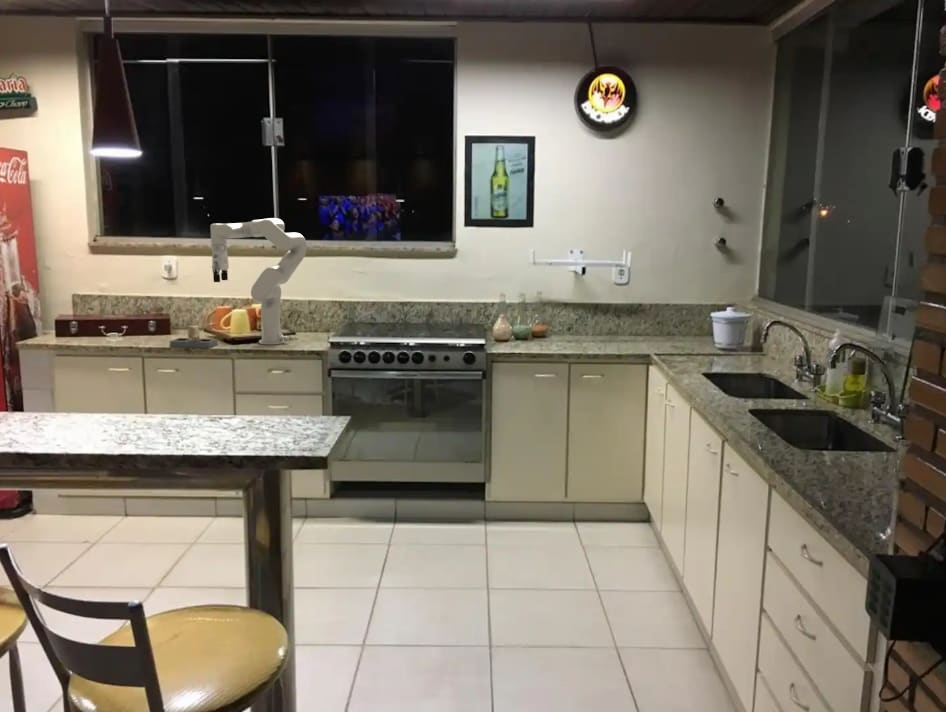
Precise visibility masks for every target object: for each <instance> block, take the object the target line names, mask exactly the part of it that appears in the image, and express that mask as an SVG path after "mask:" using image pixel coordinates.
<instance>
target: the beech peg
mask: <svg viewBox="0 0 946 712" xmlns="http://www.w3.org/2000/svg"><path fill="white" fill-rule="evenodd" d="M187 338H188V341H198V340H200V338H201V337H200V326H199V325H193V324H192V325H189V326H187Z"/></svg>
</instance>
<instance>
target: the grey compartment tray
mask: <svg viewBox="0 0 946 712" xmlns="http://www.w3.org/2000/svg"><path fill="white" fill-rule="evenodd" d="M199 338H200V340H198V341H188V337H177V338H175V339H172V340H170V341H169V348H179V349H180V348H181V349H183V348H185V349H211V348H214V347H217V346H218V345H219V341H218V338H201V337H199Z"/></svg>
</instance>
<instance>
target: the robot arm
mask: <svg viewBox="0 0 946 712" xmlns="http://www.w3.org/2000/svg"><path fill="white" fill-rule="evenodd" d="M250 237H254V238H260V237H261V238H262V237H265V238H266V240H268V241H269V242H270V243H271V244H272V245H273V246H275V247H276V248H277V249H279V250H281V251H287V252H286V253H285V254H284V255H283V256H282V258H281V260H280V261H279V262H278V263H277V264H276V265H273V266H268V267H266V268H265V269H264V270H263V271H262V272H261V273H260V275H259V276H258V278H257V279H256V281H255V282H254V283H253V284H252V287H251V289H250V295H251V297H252V300H254V301H255V302H258V303H261V305H260V323H261V339H259V340H258V344H261V345H265V346H266V345H267V346H271V345H281V344H284V343H285V341H289V340H290V339H289V338H290V336H288V335H284V334H283V332H281V331H282V330H281V328H282V327H281V326H282V325H281V297H282V288H281V286H280V285H284V284H286V283H288V281H289V280H290V278H291V277H292V275H293V274H294V272H295V271H296V270H297V268H298V267H299V265H300V264H301V262H302V261H303V260H304V258H305V257H306V255H307V250H308V244H307V240H306V238H305V237H304V236H303V235H302V234H301V233H299V232H294V231H293V232H285V223H284V221H283V220H282V219H280V218H277V217H270V218H269V217H268V218H263V219H253V220H251V221H247V222H236V223H235V222H234V223H232V222H231V223H230V222H228V223H212V224H210V243H211V244H210V247H211V251H212V255H211V256H212V261H211V262H212V265H211V269H212V275H213V276H212V277H213V283H221V281H228V277H229V276H228V273H229V271H228V269H229V268H230V267H229V266H230V265H229V257H228V251H227V250H228V247H227V245H228V244H227V242H228V241H227V239H240V238H241V239H242V238H250Z"/></svg>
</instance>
